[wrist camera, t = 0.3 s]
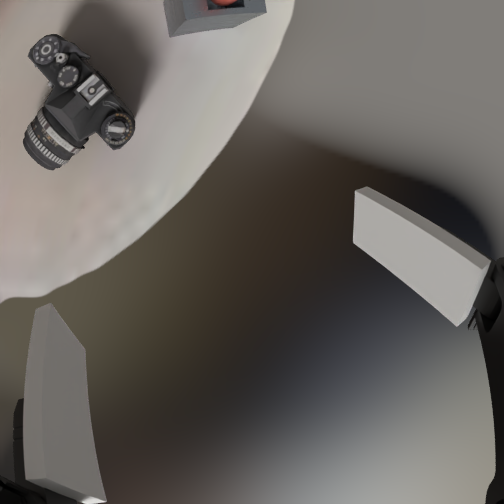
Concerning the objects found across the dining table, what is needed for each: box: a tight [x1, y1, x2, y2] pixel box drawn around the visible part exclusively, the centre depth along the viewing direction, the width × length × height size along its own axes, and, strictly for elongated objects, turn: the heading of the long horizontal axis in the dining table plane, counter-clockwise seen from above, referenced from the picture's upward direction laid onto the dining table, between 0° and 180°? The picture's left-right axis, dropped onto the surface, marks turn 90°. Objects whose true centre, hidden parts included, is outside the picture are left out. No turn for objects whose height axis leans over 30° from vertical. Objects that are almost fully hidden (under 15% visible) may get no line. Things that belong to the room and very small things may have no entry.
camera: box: [23, 34, 135, 170], centre depth 22 cm, size 14×11×10 cm
